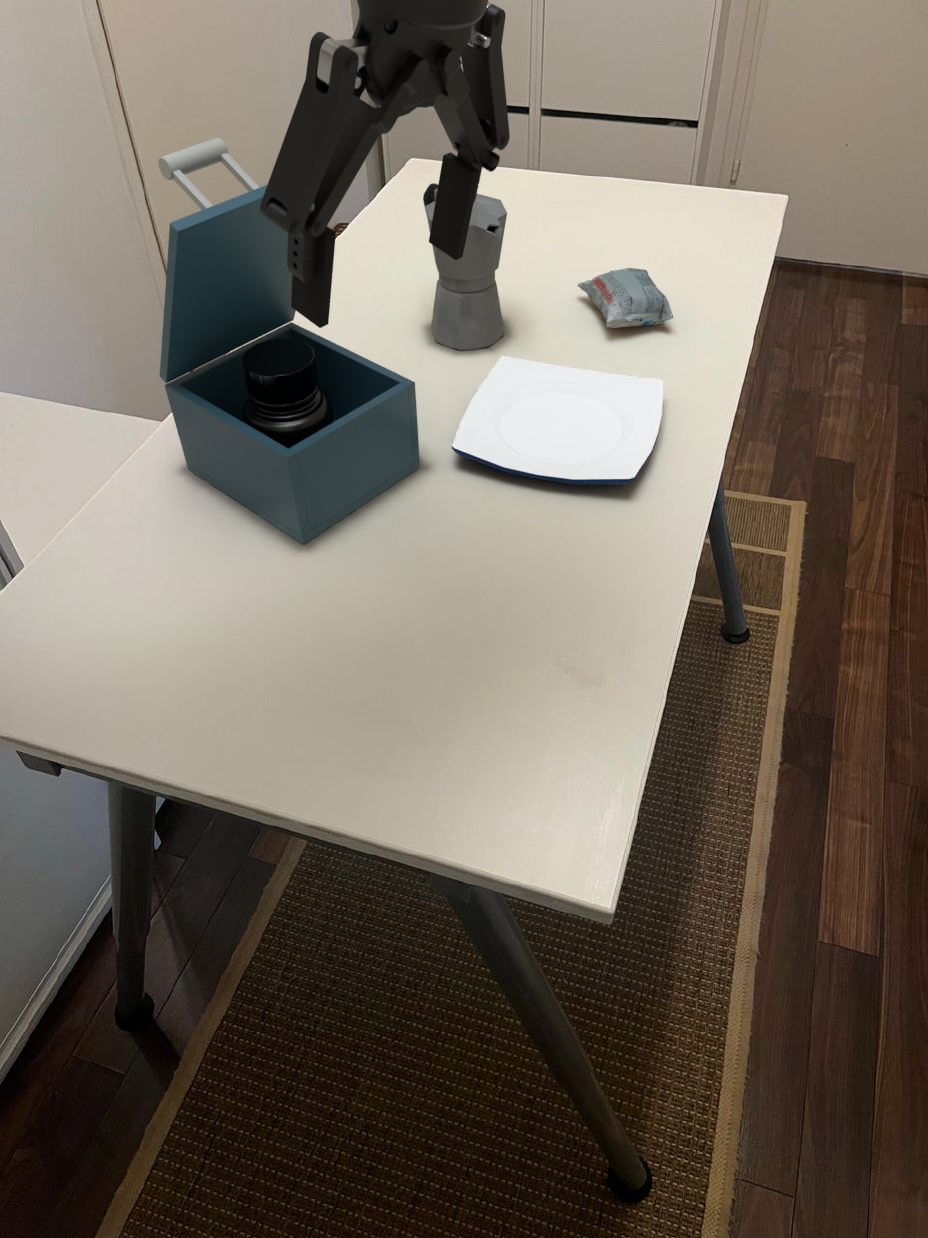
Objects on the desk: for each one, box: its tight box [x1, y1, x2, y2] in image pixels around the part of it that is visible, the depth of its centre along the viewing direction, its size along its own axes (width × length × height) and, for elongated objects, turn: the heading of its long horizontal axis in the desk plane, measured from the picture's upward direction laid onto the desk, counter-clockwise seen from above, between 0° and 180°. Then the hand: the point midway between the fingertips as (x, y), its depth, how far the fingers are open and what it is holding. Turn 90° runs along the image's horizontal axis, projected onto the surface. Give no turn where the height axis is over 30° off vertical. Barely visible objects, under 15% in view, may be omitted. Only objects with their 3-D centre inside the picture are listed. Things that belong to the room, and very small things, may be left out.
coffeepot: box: [422, 182, 508, 351], centre depth 109 cm, size 15×9×18 cm, turn 32°
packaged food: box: [577, 267, 674, 329], centre depth 115 cm, size 9×12×5 cm
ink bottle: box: [242, 338, 335, 449], centre depth 90 cm, size 10×9×12 cm
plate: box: [451, 355, 665, 485], centre depth 98 cm, size 20×20×3 cm
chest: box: [164, 321, 421, 545], centre depth 92 cm, size 18×16×10 cm
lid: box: [157, 137, 315, 384], centre depth 85 cm, size 19×16×9 cm
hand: (381, 281), depth 64 cm, fingers open, 13 cm apart
